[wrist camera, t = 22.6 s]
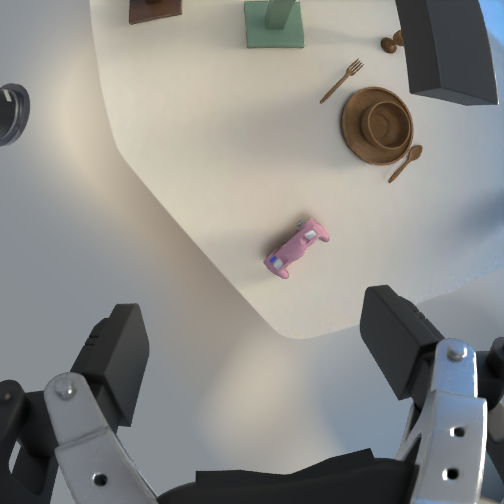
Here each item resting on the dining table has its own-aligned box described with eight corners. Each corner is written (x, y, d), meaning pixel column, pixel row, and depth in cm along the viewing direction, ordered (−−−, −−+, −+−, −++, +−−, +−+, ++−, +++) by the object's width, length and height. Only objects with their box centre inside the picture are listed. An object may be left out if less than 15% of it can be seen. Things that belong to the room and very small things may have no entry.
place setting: (307, 110, 39) (317, 105, 33) (384, 32, 34) (401, 21, 28) (387, 191, 43) (405, 198, 38) (451, 111, 38) (473, 110, 33)
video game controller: (312, 215, 46) (308, 210, 39) (332, 238, 45) (331, 236, 38) (266, 258, 48) (254, 260, 41) (285, 280, 47) (276, 286, 40)
